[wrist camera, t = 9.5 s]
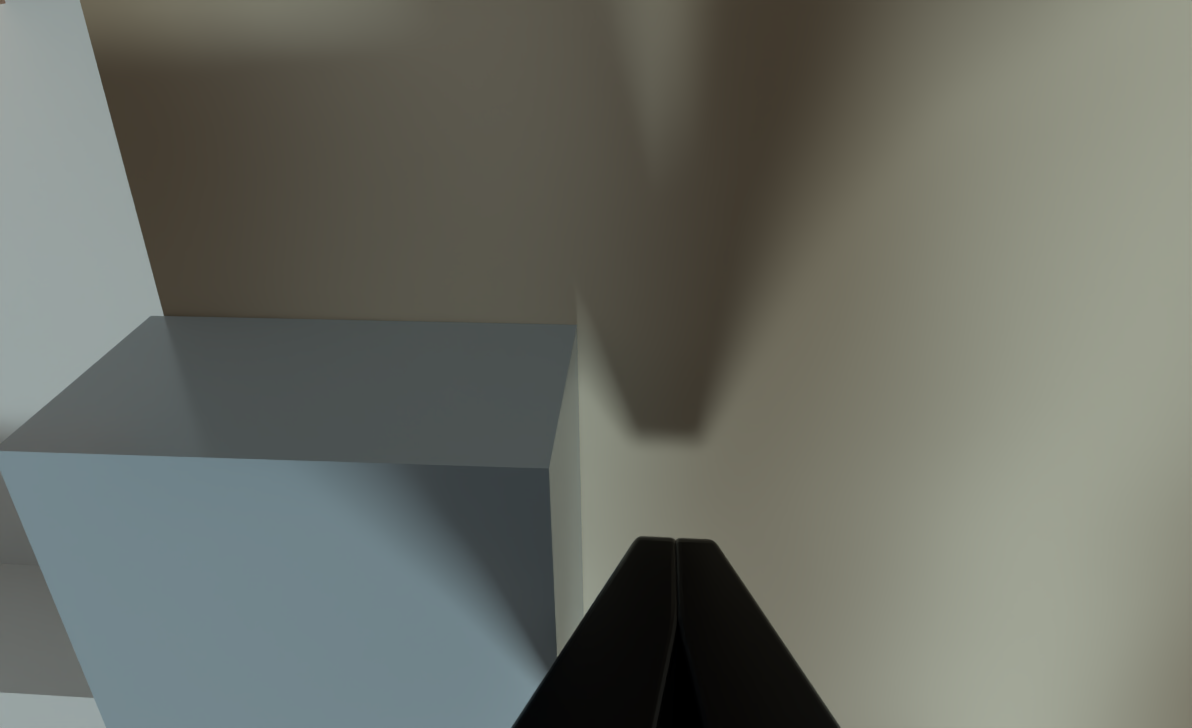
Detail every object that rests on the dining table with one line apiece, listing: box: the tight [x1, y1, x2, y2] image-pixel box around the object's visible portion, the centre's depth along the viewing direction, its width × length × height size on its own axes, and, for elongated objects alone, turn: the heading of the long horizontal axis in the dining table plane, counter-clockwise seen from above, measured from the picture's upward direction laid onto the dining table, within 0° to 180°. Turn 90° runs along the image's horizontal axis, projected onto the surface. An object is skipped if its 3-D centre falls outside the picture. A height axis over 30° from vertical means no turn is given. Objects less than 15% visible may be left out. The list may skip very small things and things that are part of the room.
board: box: [80, 0, 1192, 728], centre depth 9 cm, size 14×15×2 cm
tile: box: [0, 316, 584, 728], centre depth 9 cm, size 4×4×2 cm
